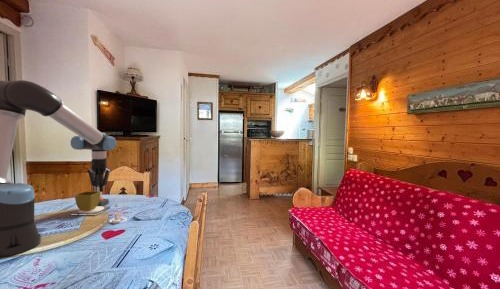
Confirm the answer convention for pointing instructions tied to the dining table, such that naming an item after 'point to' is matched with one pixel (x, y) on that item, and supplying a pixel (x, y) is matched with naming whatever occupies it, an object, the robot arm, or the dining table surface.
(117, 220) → the teacup and saucer
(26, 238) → the robot arm
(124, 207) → the dining table surface
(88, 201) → the flower pot
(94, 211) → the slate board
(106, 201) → the button housing
